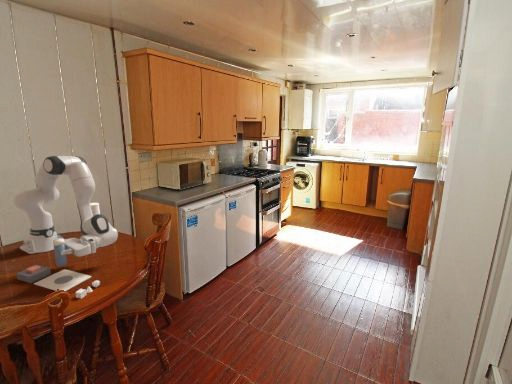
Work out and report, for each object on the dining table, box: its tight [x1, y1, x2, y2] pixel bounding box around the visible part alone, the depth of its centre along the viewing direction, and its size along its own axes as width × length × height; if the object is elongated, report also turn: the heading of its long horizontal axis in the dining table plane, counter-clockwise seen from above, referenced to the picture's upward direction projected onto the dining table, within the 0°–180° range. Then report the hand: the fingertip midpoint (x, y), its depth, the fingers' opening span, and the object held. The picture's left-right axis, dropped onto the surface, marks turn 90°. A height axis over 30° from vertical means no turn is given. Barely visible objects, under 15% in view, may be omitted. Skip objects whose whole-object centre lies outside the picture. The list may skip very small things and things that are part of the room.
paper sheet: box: [33, 268, 92, 292], centre depth 145 cm, size 20×16×1 cm
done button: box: [26, 264, 41, 274], centre depth 147 cm, size 4×4×3 cm
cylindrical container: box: [90, 202, 101, 216], centre depth 197 cm, size 7×7×25 cm
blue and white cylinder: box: [53, 238, 68, 267], centre depth 141 cm, size 5×5×13 cm
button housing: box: [16, 264, 52, 284], centre depth 147 cm, size 10×10×4 cm
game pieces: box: [75, 280, 101, 299], centre depth 136 cm, size 12×3×3 cm, turn 165°
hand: (57, 251), depth 140 cm, fingers closed on blue and white cylinder, 4 cm apart
